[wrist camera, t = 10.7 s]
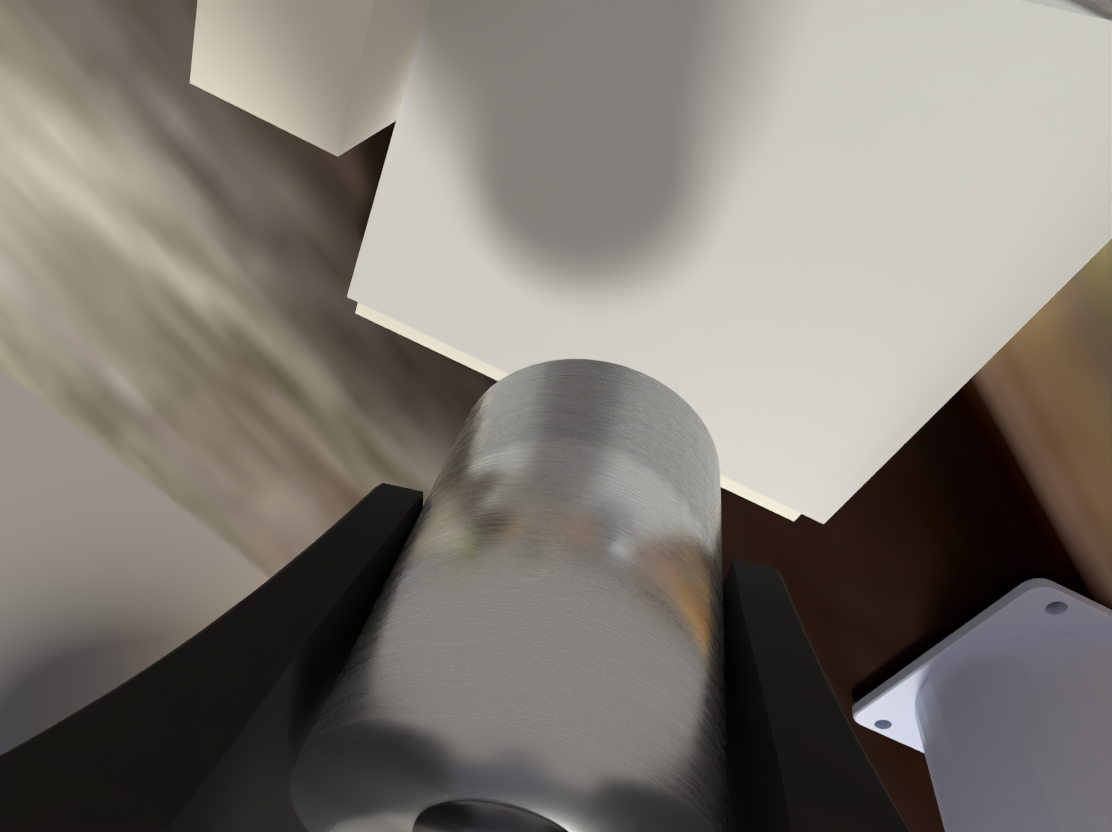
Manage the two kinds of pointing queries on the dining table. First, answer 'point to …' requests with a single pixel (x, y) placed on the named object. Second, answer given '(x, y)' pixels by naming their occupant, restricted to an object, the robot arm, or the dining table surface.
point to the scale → (707, 194)
